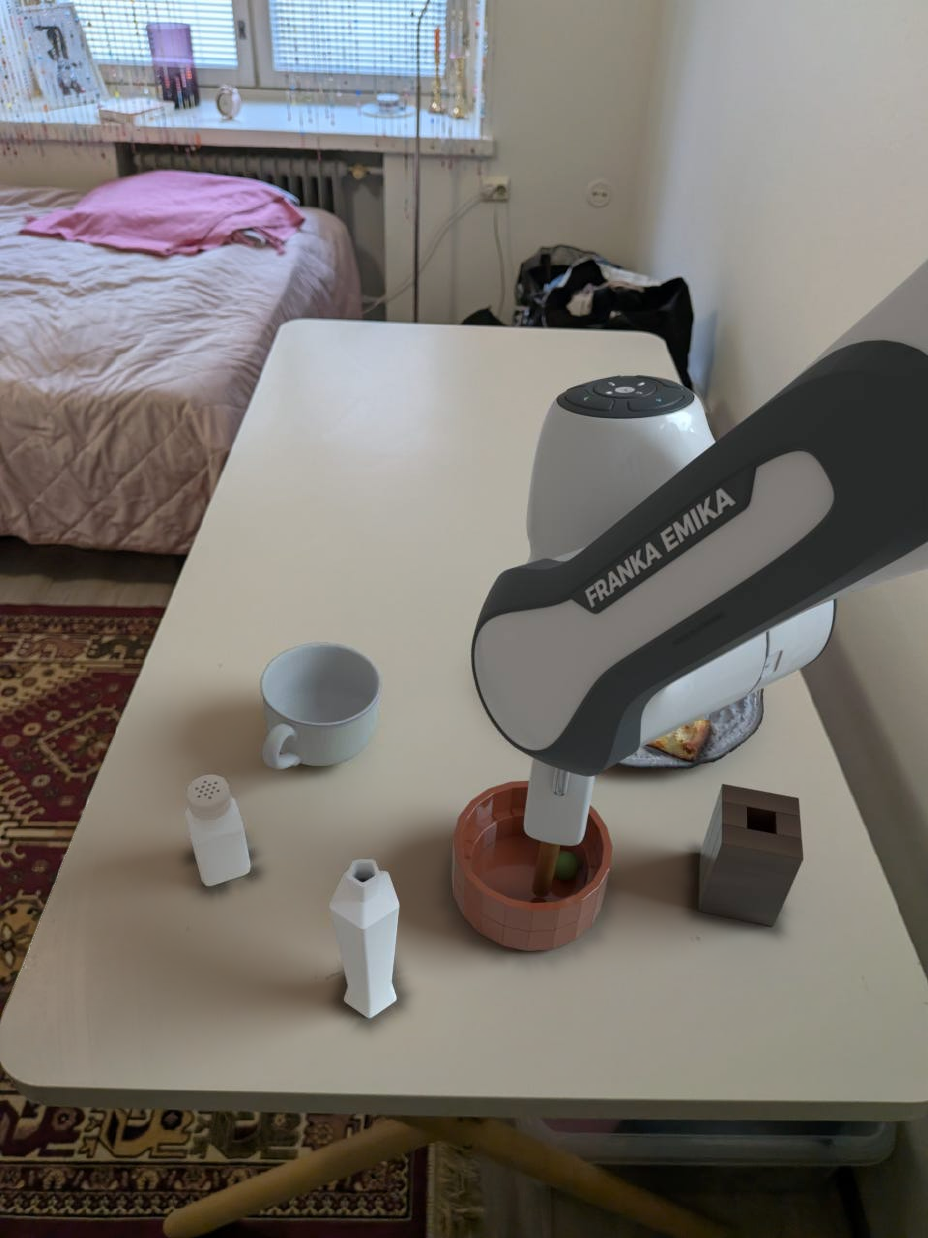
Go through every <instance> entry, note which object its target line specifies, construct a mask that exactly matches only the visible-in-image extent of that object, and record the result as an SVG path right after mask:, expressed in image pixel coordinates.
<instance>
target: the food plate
mask: <svg viewBox="0 0 928 1238" xmlns="http://www.w3.org/2000/svg"><path fill="white" fill-rule="evenodd" d="M764 691H765V687H764V688H762V689H760V690H758V691H756V692H754V693H752V694H750V695H748V696H745V697H743V698H741V699H739V700H737V701H735V702H733V703H731V704H729V705H727V706H725V707H723V708H721V709H719V710H717V711H715V712H713V713H711V714H708V715H706V716H704V717H702V718H700V719H698V720H696V721H694V722H692V723H690V724H688V725H686V726H684V727H682V728H680V729H677V730H675V731H673V732H671V733H669V734H667V735H665V736H663V737H661V738H659V739H657V740H655V741H653V742H651V743H649V744H646V745H644V746H642V747H640V748H638V750H637V751H636V752H635V753H634V754H632V755H630V756H628V757H627V758H625V759H623V760H622V761H620V762H618V763H617V764H619V765H621V766H625V767H626V766H627V767H630V768H633V769H642V770H652V769H655V770H658V769H659V770H660V769H663V770H667V769H668V770H673V769H674V770H676V769H678V770H680V769H681V770H689V769H694V768H696V767H698V766H701V765H704V764H705V765H706V764H710V763H711V764H712V763H715V762H717V761H719V760H722V759H723V758H725V757H726V756H727V755H729V754H730V753H732V752H734V751H735V750H736V749H738V747H740V746H741V745H742V744H744V743H746V742H747V741H748V740H749V739H750V738H751V737H752V736H754V735H755V734H756V732H757V731H758V729H759V728H760V726H761V724H762V722H763V718H764V712H765V709H764V708H765V707H764V704H765V703H764Z"/></svg>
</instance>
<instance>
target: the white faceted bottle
mask: <svg viewBox="0 0 928 1238" xmlns="http://www.w3.org/2000/svg"><path fill="white" fill-rule="evenodd" d="M329 911H330V915H331V919H332V924H333V929H334V931H335V936H336V937H335V938H336V941H337V945H338V949H339V955H340V958H341V962H342V966H343V970H344V977H345V979H346V984H347V987H346V988H347V989H346V991H345V994H344V996H343V1001H344V1002H345V1004H347V1005H349V1006H350V1007H351V1008H353V1009H354V1010H356V1011H357V1012H358V1013H360V1014H361V1015H363V1016H364V1017H365V1018H367V1019H372V1018H374V1017H375V1016H377V1014H379V1013H381V1012H382V1011H383V1010H385V1009H386V1008H388V1007H389V1006H390V1005H392V1004H394V1003H395V1002H396V1001H397V998H398V997H397V994H396V991H395V988H394V985H393V981H392V980H393V971H394V961H395V953H396V952H395V951H396V945H397V944H396V942H397V934H398V925H399V924H398V923H399V913H400V901H399V899H398V896H397V892H396V890H395V887H394V884H393V882H392V879H391V876H390V873H389V872H388V871H387V870H379V865H378V863H377V861H376V860H375V859H372V858H363V859H360V858H359V859H353V861H352V862H351V864H350V866H349V868H348V870H347V871H345V872H343V874H342V876H341V879H340V881H339V883H338V885H337V887H336V889H335V891H334V894H333V896H332V898H331V900H330V902H329Z"/></svg>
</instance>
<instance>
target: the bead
mask: <svg viewBox="0 0 928 1238" xmlns="http://www.w3.org/2000/svg"><path fill="white" fill-rule="evenodd" d="M578 871H579V861H578V859H577V857H576V856H575V855H574V854H573V853H571V852H569V851H560V852H559V854H558V858H557V863H556V867H555V872H554V876H555V877H556V878H557V879H559V880H562V881H568V880H571V879H573V878H574V877H575V876H576V875H577V874H578Z"/></svg>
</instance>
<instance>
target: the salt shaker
mask: <svg viewBox="0 0 928 1238" xmlns="http://www.w3.org/2000/svg"><path fill="white" fill-rule="evenodd" d="M185 796H186V801H187V805H188V808H187V809H186V811H185V813H184V815H185V816H184V817H185V820H186V824H187V829H188V833H189V837H190V841H191V845H192V849H193V854H194V857H195V860H196V864H197V868H198V872H199V875H200V879H201V882H202V883H203V884H204V885H205V886H206V887H213V886H215V885H216V886H217V885H219V884H222V883H225V882H228V881H231V880H234V879H238V878H240V877H243V876H246V875H247V874H248V873H250V871H251V867H252V866H251V865H252V864H251V860H250V854H249V853H250V852H249V848H248V842H247V838H246V833H245V832H246V831H245V827H244V823H243V820H242V817H241V814H240V809H239V807H238V804H237V801H236V798H234V797H232V795H231V790H230V785H229V782H227V781H226V779H225V778H224V777H222V776H220V775H217V774H215V773H213V774H204V775H203V774H202V775H201V776H199V777H198V778H196V779H193V780H192V781H191V783H190V784H189V785H188V787H187V788H186V795H185Z"/></svg>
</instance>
